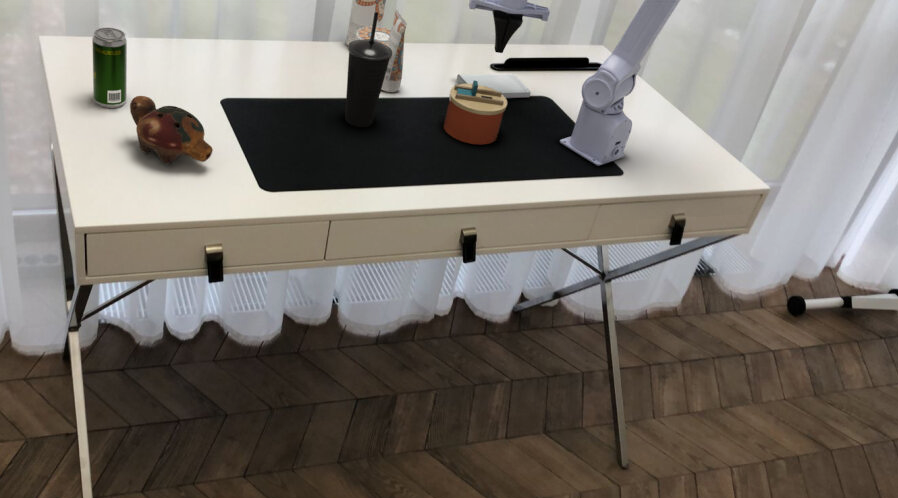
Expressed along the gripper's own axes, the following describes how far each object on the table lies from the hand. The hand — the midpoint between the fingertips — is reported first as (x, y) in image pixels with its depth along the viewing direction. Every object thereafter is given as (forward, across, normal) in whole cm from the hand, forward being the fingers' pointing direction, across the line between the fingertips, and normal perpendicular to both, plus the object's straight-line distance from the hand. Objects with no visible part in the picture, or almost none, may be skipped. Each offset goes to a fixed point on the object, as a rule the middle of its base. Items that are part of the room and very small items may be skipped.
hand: (498, 50), depth 182 cm
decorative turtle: (+11, +54, +37) cm, 66 cm away
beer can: (+11, +67, +22) cm, 71 cm away
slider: (+3, +6, +13) cm, 15 cm away
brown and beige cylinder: (+10, +4, +13) cm, 17 cm away
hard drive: (+11, -2, -6) cm, 12 cm away
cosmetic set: (+11, +22, -8) cm, 25 cm away
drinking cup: (+11, +24, +16) cm, 31 cm away
